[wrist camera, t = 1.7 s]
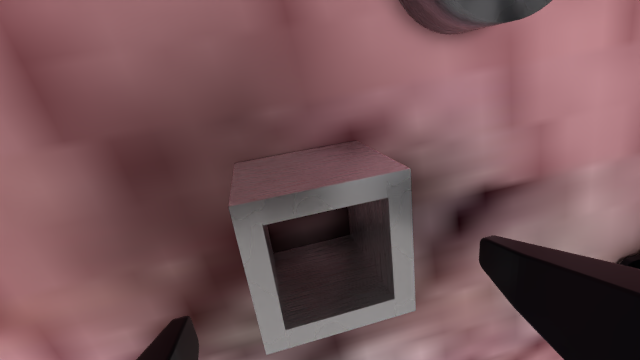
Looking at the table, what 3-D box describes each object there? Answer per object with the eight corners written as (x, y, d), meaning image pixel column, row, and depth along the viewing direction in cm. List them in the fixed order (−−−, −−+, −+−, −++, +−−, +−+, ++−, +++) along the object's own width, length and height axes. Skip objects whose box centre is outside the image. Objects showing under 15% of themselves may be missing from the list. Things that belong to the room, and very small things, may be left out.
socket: (366, 244, 16) (415, 310, 11) (260, 270, 15) (266, 355, 10) (356, 140, 14) (410, 168, 9) (234, 163, 13) (228, 206, 9)
